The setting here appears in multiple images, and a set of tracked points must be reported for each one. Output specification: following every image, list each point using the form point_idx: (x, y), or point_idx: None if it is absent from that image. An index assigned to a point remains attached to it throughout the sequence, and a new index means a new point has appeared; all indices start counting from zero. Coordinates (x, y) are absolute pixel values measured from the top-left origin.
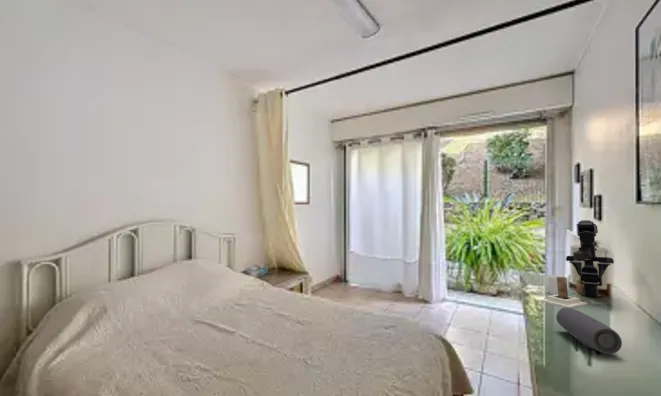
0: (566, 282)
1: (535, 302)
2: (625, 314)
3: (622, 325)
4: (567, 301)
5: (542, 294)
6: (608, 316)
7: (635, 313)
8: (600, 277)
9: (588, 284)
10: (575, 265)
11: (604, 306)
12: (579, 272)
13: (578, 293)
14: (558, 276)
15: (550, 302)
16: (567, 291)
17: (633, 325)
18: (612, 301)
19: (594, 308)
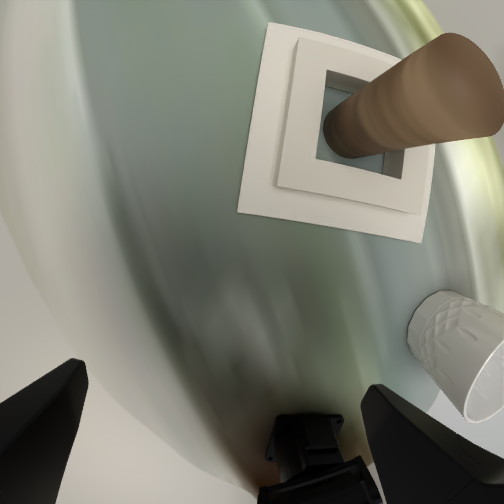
0: (402, 85)
1: None
2: (43, 174)
3: (36, 3)
4: (298, 40)
5: (480, 262)
6: (82, 59)
7: (29, 240)
8: (72, 363)
9: (321, 472)
10: (491, 473)
11: (160, 263)
12: (391, 419)
13: (360, 431)
14: (486, 415)
15: (383, 54)
16: (359, 118)
17: (10, 38)
18: (190, 409)
19: (176, 156)
